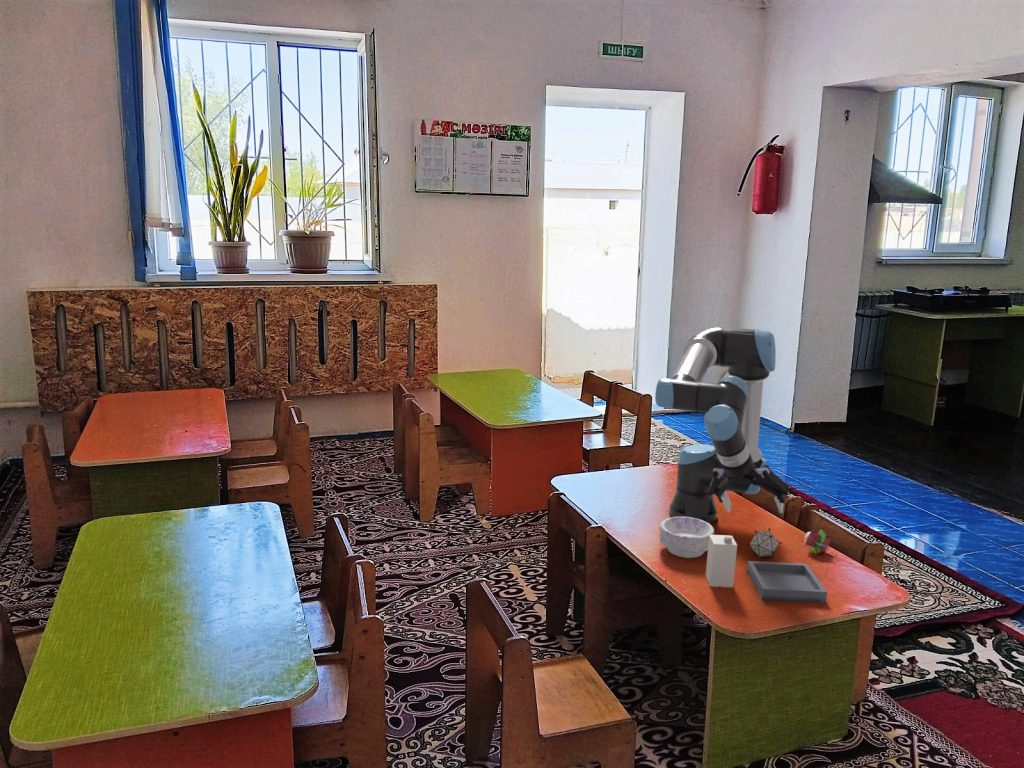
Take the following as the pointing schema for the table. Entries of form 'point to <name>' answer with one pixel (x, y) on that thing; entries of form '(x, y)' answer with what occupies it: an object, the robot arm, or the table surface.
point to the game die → (764, 543)
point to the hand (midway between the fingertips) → (755, 508)
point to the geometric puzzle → (817, 541)
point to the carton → (721, 560)
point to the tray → (786, 582)
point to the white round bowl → (685, 536)
